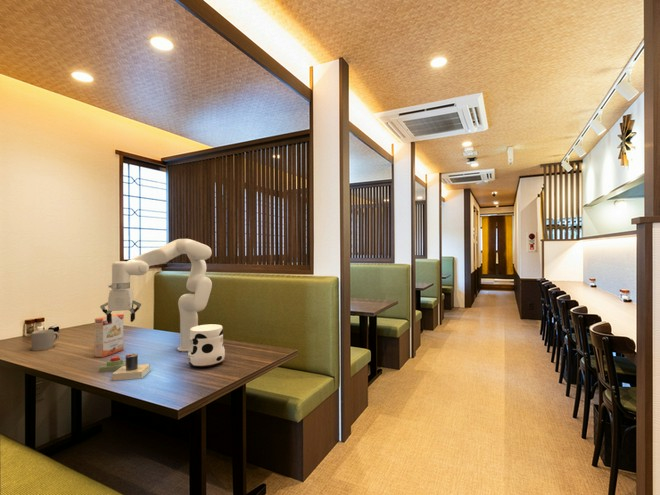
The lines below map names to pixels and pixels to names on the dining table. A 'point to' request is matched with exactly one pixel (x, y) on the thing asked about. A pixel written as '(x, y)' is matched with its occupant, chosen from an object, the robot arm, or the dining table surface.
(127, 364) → the knob
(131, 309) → the robot arm
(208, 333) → the milk container
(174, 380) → the dining table surface
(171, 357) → the dining table surface
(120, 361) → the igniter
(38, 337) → the coffee mug
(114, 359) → the button
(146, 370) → the panel
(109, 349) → the cracker box
